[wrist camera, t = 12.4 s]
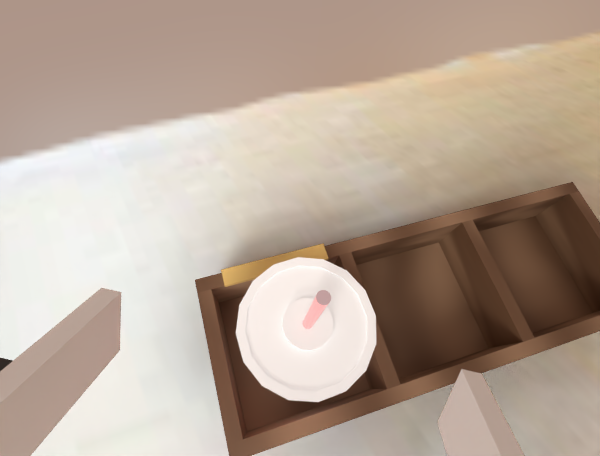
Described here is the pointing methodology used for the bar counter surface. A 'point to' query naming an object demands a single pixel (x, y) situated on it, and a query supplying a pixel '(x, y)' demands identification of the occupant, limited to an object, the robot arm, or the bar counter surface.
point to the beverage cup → (306, 329)
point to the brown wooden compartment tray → (424, 308)
